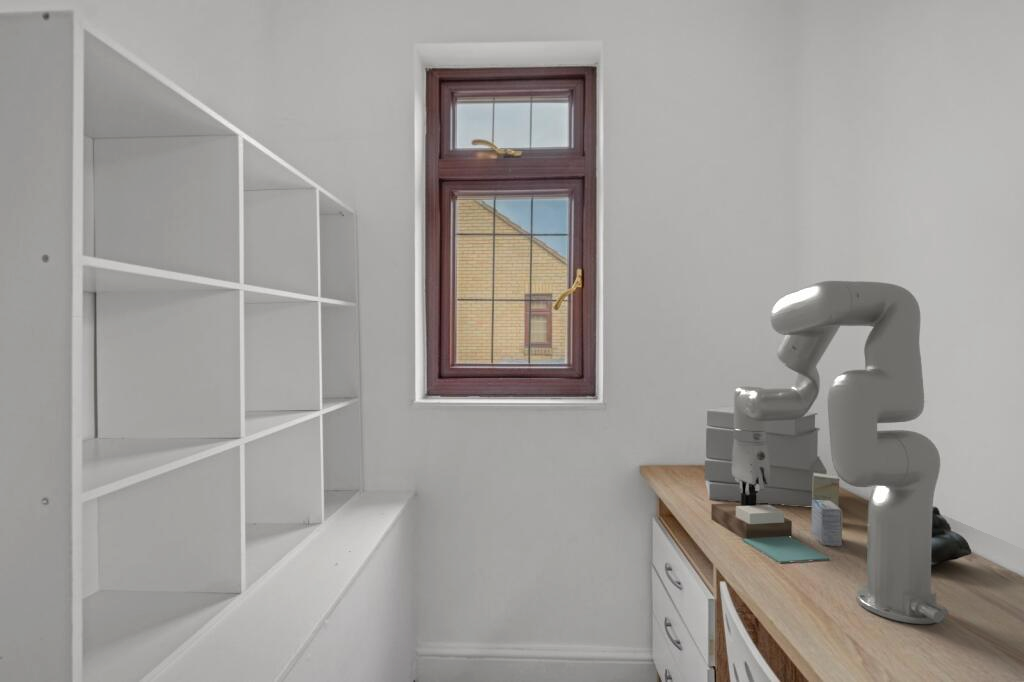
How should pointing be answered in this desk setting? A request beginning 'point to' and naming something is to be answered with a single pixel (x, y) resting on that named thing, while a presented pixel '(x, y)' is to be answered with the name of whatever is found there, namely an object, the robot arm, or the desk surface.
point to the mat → (784, 549)
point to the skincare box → (825, 487)
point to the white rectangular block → (759, 514)
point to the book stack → (787, 457)
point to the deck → (728, 519)
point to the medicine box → (827, 522)
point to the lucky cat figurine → (946, 541)
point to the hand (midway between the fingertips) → (748, 509)
